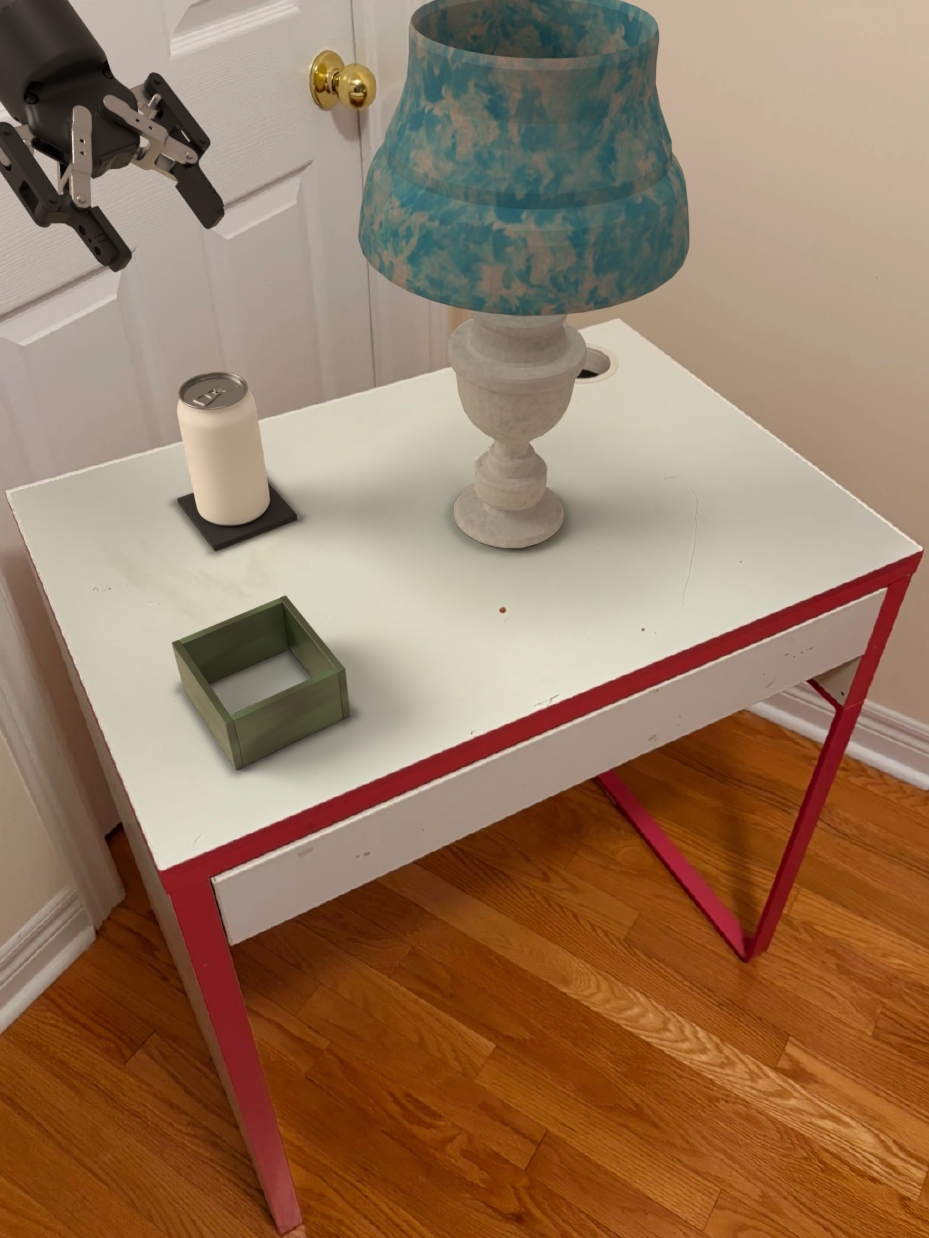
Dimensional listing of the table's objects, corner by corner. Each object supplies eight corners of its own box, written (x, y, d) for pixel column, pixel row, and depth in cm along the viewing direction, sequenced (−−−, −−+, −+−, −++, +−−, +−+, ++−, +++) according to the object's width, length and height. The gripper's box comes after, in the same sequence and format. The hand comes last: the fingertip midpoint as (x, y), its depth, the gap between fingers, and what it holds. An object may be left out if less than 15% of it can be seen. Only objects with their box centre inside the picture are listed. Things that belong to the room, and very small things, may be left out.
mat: (214, 551, 90) (213, 546, 90) (177, 503, 95) (176, 498, 95) (297, 519, 94) (296, 514, 93) (258, 474, 98) (257, 469, 98)
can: (285, 499, 95) (269, 383, 86) (237, 538, 91) (216, 420, 82) (231, 476, 97) (210, 361, 89) (182, 512, 93) (155, 395, 85)
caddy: (235, 770, 74) (225, 724, 70) (183, 688, 79) (171, 642, 75) (350, 715, 77) (345, 668, 74) (292, 641, 83) (286, 594, 79)
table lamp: (687, 576, 89) (796, 62, 61) (414, 632, 83) (398, 98, 56) (582, 424, 105) (631, -36, 77) (349, 463, 100) (312, -15, 72)
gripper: (-68, 12, 61) (110, 252, 65) (120, -34, 70) (268, 180, 73) (-91, 91, 67) (73, 308, 70) (85, 40, 76) (224, 235, 79)
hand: (172, 243), depth 72 cm, fingers open, 8 cm apart
